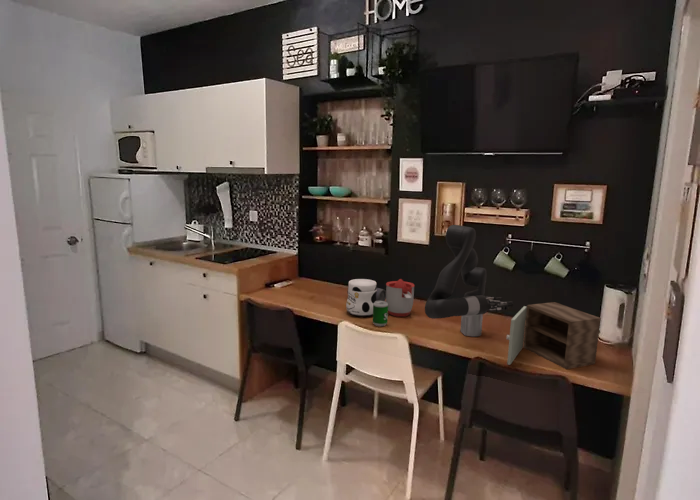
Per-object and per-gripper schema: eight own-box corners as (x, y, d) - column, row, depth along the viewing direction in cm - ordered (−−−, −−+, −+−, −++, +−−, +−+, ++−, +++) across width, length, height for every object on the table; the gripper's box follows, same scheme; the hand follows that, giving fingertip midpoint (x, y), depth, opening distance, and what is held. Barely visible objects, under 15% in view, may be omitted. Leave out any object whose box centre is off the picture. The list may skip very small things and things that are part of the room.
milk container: (340, 314, 240) (340, 282, 237) (356, 307, 255) (357, 276, 252) (367, 320, 231) (368, 287, 228) (382, 312, 246) (384, 281, 243)
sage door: (503, 363, 181) (507, 319, 178) (516, 345, 201) (520, 305, 198) (510, 364, 180) (514, 320, 177) (523, 346, 199) (526, 306, 196)
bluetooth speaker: (346, 300, 269) (346, 284, 267) (355, 296, 276) (355, 281, 275) (378, 307, 256) (379, 290, 254) (386, 303, 264) (387, 287, 262)
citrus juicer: (395, 320, 233) (396, 284, 229) (379, 311, 248) (381, 276, 245) (420, 317, 239) (422, 281, 235) (403, 308, 254) (405, 274, 251)
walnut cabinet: (566, 369, 178) (571, 321, 175) (523, 347, 200) (527, 305, 197) (594, 363, 184) (600, 318, 181) (550, 343, 206) (554, 302, 203)
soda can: (381, 328, 221) (381, 305, 219) (369, 324, 226) (370, 301, 224) (390, 324, 226) (391, 302, 224) (378, 321, 231) (379, 299, 229)
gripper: (485, 301, 166) (520, 297, 172) (462, 291, 179) (496, 288, 185) (484, 320, 167) (519, 316, 173) (461, 309, 180) (494, 305, 186)
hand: (507, 301), depth 179 cm, fingers open, 6 cm apart
